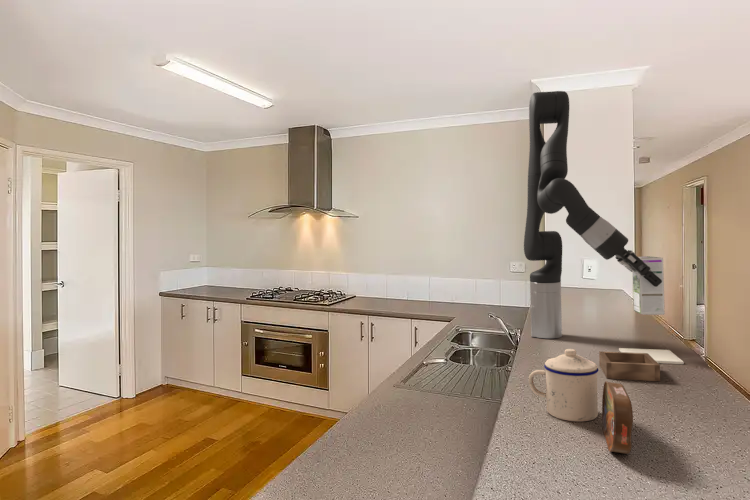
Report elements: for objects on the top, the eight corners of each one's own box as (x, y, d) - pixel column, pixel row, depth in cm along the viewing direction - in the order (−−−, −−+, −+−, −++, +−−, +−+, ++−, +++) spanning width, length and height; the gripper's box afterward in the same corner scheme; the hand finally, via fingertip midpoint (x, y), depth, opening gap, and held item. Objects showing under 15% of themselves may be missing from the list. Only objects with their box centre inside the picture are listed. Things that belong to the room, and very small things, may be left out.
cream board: (628, 361, 117) (628, 359, 117) (619, 350, 128) (619, 348, 128) (683, 364, 113) (683, 361, 113) (669, 352, 125) (669, 349, 125)
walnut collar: (606, 378, 105) (606, 362, 105) (599, 365, 115) (599, 351, 115) (660, 381, 101) (659, 365, 101) (647, 367, 111) (647, 353, 111)
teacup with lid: (600, 408, 87) (599, 346, 87) (597, 426, 79) (596, 358, 79) (533, 399, 93) (532, 341, 93) (524, 415, 85) (523, 352, 85)
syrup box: (665, 314, 117) (665, 256, 117) (639, 314, 118) (639, 257, 118) (656, 311, 123) (656, 256, 122) (632, 311, 124) (631, 256, 124)
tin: (600, 422, 81) (599, 374, 81) (621, 424, 80) (620, 375, 80) (611, 462, 67) (610, 404, 67) (636, 465, 66) (635, 406, 66)
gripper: (620, 227, 115) (676, 274, 112) (609, 227, 129) (659, 270, 126) (596, 249, 117) (651, 296, 114) (589, 247, 131) (637, 290, 128)
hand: (655, 282), depth 120 cm, fingers closed on syrup box, 6 cm apart
